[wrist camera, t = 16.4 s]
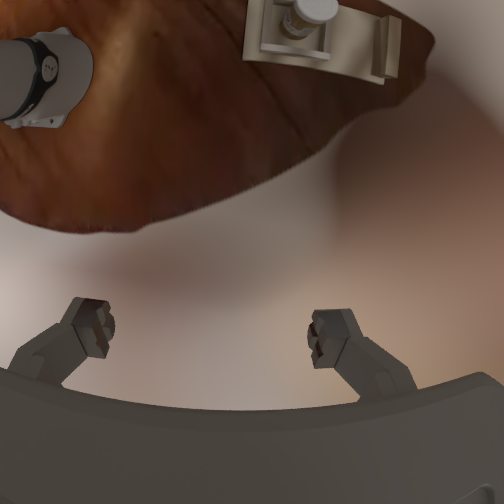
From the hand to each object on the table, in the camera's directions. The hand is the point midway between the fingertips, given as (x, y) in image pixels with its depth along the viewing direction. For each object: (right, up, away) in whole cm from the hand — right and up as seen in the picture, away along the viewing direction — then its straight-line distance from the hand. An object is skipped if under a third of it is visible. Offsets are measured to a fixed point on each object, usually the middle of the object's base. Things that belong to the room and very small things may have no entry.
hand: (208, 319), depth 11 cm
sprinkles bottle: (+8, +35, +21) cm, 41 cm away
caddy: (+12, +35, +22) cm, 43 cm away
